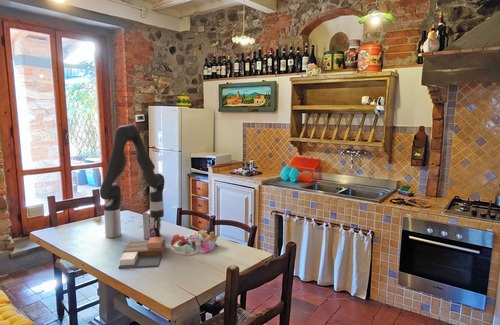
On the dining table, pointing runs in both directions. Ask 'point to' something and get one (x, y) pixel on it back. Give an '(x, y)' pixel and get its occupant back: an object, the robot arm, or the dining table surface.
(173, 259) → the dining table surface
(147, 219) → the candy bar box
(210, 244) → the candy landscape model
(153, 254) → the walnut board
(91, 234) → the dining table surface
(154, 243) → the terracotta tile
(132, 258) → the cream tile
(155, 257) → the rubber mat
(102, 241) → the dining table surface
